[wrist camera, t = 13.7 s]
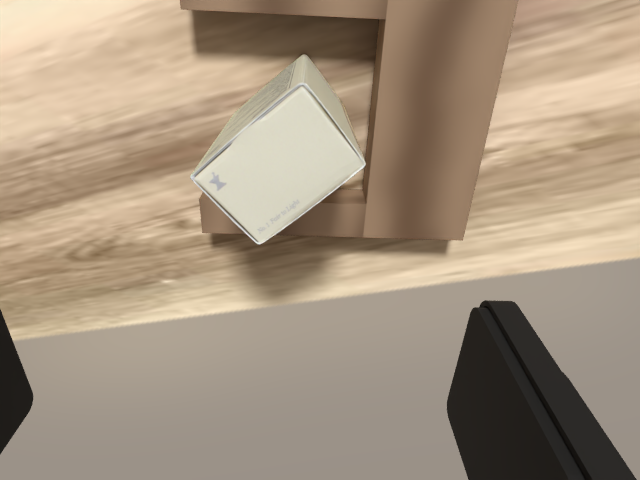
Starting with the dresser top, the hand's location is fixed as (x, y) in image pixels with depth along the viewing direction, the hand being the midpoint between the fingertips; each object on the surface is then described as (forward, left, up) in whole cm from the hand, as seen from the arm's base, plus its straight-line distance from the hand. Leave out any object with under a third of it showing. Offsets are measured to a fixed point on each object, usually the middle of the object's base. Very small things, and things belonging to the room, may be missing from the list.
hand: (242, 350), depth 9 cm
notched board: (-3, 0, -22) cm, 23 cm away
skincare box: (0, 0, -23) cm, 22 cm away
